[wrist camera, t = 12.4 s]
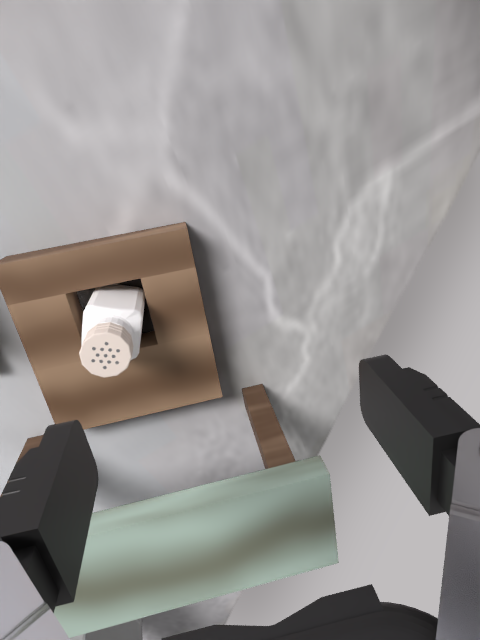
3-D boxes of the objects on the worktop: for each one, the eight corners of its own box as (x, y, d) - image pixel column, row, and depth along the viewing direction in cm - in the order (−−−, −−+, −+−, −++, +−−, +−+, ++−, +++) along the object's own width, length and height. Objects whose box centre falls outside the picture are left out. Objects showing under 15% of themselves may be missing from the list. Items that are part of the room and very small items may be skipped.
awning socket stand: (-56, 268, 32) (-274, 384, 16) (240, 211, 34) (308, 263, 18) (31, 461, 39) (-59, 673, 23) (270, 404, 42) (338, 562, 25)
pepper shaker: (96, 279, 34) (73, 323, 26) (146, 285, 35) (141, 329, 26) (93, 325, 36) (70, 381, 27) (141, 330, 37) (135, 385, 28)
